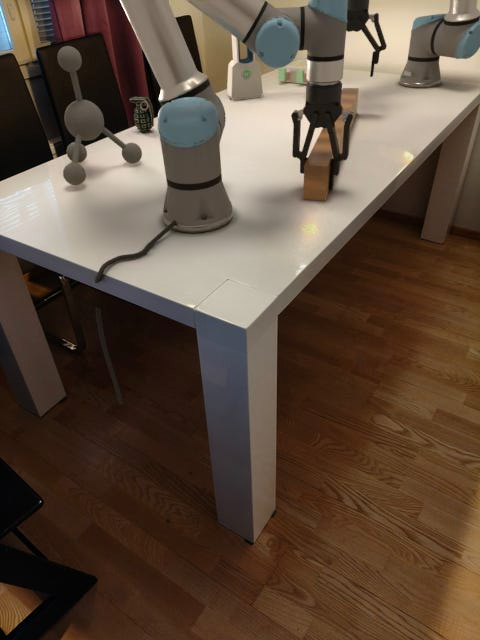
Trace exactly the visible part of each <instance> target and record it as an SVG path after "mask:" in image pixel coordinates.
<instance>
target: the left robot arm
mask: <svg viewBox="0 0 480 640" xmlns="http://www.w3.org/2000/svg"><path fill="white" fill-rule="evenodd" d="M185 1H186V2H188V3H189V4H190V5H192V6H193V7H195V8H196V9H197V10H198V11H200V12H201V13H202V14H204V15H205V16H206V17H208V18H209V19H210V20H212V21H213V22H214V23H215V24H217V25H218V26H219V27H221V28H222V29H224V30H225V31H226V32H228V33H229V34H230V35H231V36H232V35H233V36H235V37H236V38H237V39H239V42H241V43H242V44H243V45H245V47H246V48H247V47H248V48H249V50H250V51H251V52H255V55H257V57H258V58H259V60H260V61H261V62H262V63H263V64H264V65H265V66H267V67H269V68H272V69H279V68H282V67H284V66H287V65H288V64H289V63H291V62H294V60H295V59H296V56H297V54H298V52H299V51H307V53H306V54H307V55H306V58H307V70H306V79H307V80H308V81H309V82H307V84H305V103H304V106H303V108H301V109H299V110H298V109H294V110H293V112H292V113H291V116H290V117H291V120H292V121H291V122H292V124H293V125H292V127H293V130H292V152H291V153H292V155H291V156H292V158H295V159H298V160H299V173H300V174H302V175H304V165H305V163H306V161H307V159H308V153H309V150H310V148H311V144H312V141H313V137H314V134H315V130H316V129H319V128H322V129H323V128H327V131H328V134H329V139H330V144H331V149H332V154H333V159H332V160H331V163H330V177H329V191H333V189H334V183H335V177H337V176H339V173H340V165H341V162H342V161H347V159H348V157H349V154H350V139H351V130H350V126H351V121H352V119H353V116H354V112H352V111H351V112H347V111H345V110H343V108H342V105H341V94H342V89H343V82H342V80H343V78H344V66H345V65H344V64H345V50H346V38H347V31H346V28H347V21H348V20H347V1H348V0H308V2H307V5H303V6H289V7H288V6H287V7H275V6H273V5H272V4H271V3H269V2H268V1H267V0H185ZM119 2H120V4H121V7H122V8H123V11H124V12H125V15H126V18H127V19H128V21H129V24H130V25H131V27H132V30H133V32H134V34H135V36H136V38H137V41H138V43H139V45H140V47H141V50H142V51H143V53H144V55H145V58H146V60H147V62H148V64H149V66H150V68H151V71H152V72H153V75H154V78H155V79H156V81H157V83H158V85H159V87H160V93H159V96H158V102H159V104H160V106H161V107H160V108H159V110H158V113H157V130H158V135H159V139H160V147H161V153H162V159H163V168H164V174H165V180H166V190H165V191H166V192H165V196H164V203H163V207H162V218H163V222H164V224H165V228H164V229H163V230H161V231H160V232H159V233H158V234H157V235H156V236H155V237H153V238H152V239H151V240H150V241H149V242H148V243H147V244H146V245H145V247H144V248H143V249H142V250H140V251H138V252H135V253H129V254H121V255H118V256H115V257H113V258H111V259H108V260H107V261H105V262H104V263H103V264H101V266H100V268H99V270H98V272H97V274H96V276H95V279H94V283H95V284H99V283H100V282H101V280H102V277H103V274H104V272H105V271H106V269H107V268H108V267H109V266H111V265H113V264H115V263H117V262H119V261H123V260H131V259H136V258H140V257H142V256H144V255H145V254H147V252H148V251H149V250H150V248H152V246H153V245H155V244H156V243H157V242H158V241H159V240H160V239H162V237H163V236H165V235H166V234H167V233H168V232H169V231H170V230H173V231H177V232H180V233H190V234H191V233H192V234H193V233H194V234H195V233H196V234H197V233H205V232H206V233H207V232H210V231H215V230H216V229H220V228H222V227H224V226H226V225H227V224H228V223H230V221H231V220H232V218H233V216H234V212H233V211H234V210H233V205H232V201H231V200H230V197H229V195H228V192H227V190H226V187H225V184H224V182H223V175H222V174H223V173H222V161H221V147H220V146H221V140H222V136H223V133H224V130H225V126H226V121H227V120H226V118H227V117H226V110H225V106H224V104H223V102H222V99H221V98H220V97H219V95H217V94H216V92H214V89H213V86H212V84H211V81H210V80H209V77H208V75H207V74H205V73H203V72H200V71H199V70H198V69H197V67H196V64H195V61H194V59H193V56H192V54H191V52H190V50H189V47H188V46H187V43H186V40H185V38H184V35H183V32H182V31H181V28H180V26H179V24H178V21H177V19H176V16H175V14H174V12H173V9H172V7H171V4H170V2H169V0H119ZM340 115H341V116H342V121H343V122H344V123H345V124H344V132H343V150H342V153H341V154H340V151H339V146H338V140H337V135H336V130H335V122H336V120H337V119H338V118H339V117H340ZM304 116H305V118H306V120H307V121H308V123H309V125H308V129H307V132H306V136H305V140H304V143H303V147H302V149H301V148H300V147H301V129H302V128H301V127H302V120H303V118H304ZM300 149H301V150H300ZM94 308H95V316H96V317H95V318H96V324H97V331H98V336H99V340H100V344H101V348H102V353H103V355H104V359H105V362H106V365H107V368H108V372H109V374H110V378H111V380H112V381H111V382H112V383H113V386H114V391H115V395H116V399H117V401H118V404H119V405H120V406H122V405H123V404H124V401H123V397H122V393H121V390H120V389H121V388H120V386H119V383H118V380H117V376H116V373H115V370H114V367H113V364H112V360H111V357H110V354H109V350H108V347H107V342H106V337H105V332H104V327H103V321H102V313H101V308H100V307H97V306H95V307H94Z"/></svg>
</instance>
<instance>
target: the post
mask: <svg viewBox="0 0 480 640" xmlns="http://www.w3.org/2000/svg"><path fill="white" fill-rule="evenodd" d="M358 99H359V87H342V94H341V105H342V108H343V110H345V111H347V112H351V111H352V112H354V116H353V119H352V121H351V126H350V131H352V127H353V125H354V122H355V119H356V117H357V112H358V110H357V109H358V102H359V101H358ZM344 124H345V123H344V122H343V121H342V116H341V115H340V117H339V118H338V119H337V120H336V122H335V130H336V135H337V140H338V146H339V151H340V154H341V153H342V150H343V132H344ZM307 158H308V159H307V161H306V163H305V165H304V174H303V192H302V200H308V201H319V202H320V201H321V202H323V201H324V202H325V201H327V198H328V195H329V192H330V190H329V177H330V163H331V160H332V159H333V154H332V149H331V144H330V139H329V134H328V131H327V128H322V129H321V130H320V133H319V135H318V137H317V139H316V141H315V143H314V145H313V147H312V149H311V151H310V153H309V155H308V156H307Z"/></svg>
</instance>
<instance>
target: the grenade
mask: <svg viewBox="0 0 480 640" xmlns="http://www.w3.org/2000/svg"><path fill="white" fill-rule="evenodd" d="M128 101H129V102H130V103H134V104H135V105H136V106H135V108H134V109H133V112H134V113H133V120H134V125H135V128H136V130H137V131H139V132H141V133H148V132H150V131H151V130H152V128H153V127H154V126H155V125H154V124H155V123H154V120H155V119H154V117H155V115H154V108H153V104H152V102H151V100H150V99H149V97H147V96H146V97H144V96H139V97H138V96H132V97H131V98H129V100H128Z"/></svg>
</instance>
